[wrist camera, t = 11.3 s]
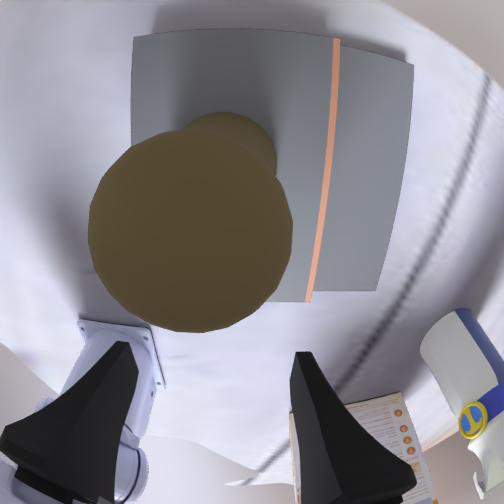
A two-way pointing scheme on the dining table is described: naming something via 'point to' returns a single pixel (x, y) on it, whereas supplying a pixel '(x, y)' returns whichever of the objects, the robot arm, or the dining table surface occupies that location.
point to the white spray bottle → (471, 388)
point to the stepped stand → (296, 134)
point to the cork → (193, 225)
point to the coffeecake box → (382, 441)
